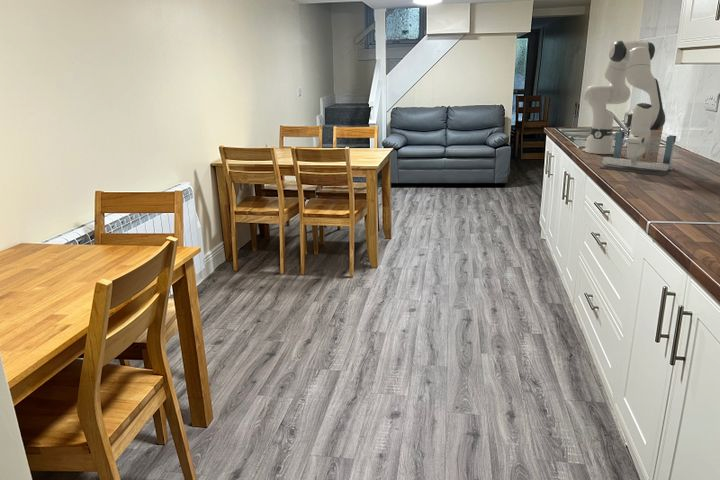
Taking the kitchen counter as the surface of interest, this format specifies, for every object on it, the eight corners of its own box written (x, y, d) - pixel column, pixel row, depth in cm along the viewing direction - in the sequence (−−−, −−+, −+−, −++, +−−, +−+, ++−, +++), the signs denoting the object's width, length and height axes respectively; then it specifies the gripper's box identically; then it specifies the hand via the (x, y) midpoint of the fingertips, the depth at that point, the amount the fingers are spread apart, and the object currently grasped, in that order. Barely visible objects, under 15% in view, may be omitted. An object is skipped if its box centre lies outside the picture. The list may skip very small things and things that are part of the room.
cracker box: (656, 165, 287) (664, 125, 280) (645, 165, 287) (652, 125, 280) (644, 160, 300) (650, 122, 294) (633, 160, 300) (639, 122, 294)
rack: (611, 162, 295) (616, 130, 289) (673, 169, 277) (680, 135, 271) (607, 164, 289) (612, 132, 284) (670, 172, 271) (676, 137, 265)
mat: (605, 165, 287) (605, 164, 287) (668, 173, 269) (669, 171, 269) (599, 168, 280) (599, 167, 279) (664, 176, 261) (664, 175, 261)
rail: (604, 162, 284) (605, 156, 283) (668, 170, 266) (669, 163, 265) (602, 163, 282) (603, 157, 281) (666, 170, 263) (667, 164, 262)
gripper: (637, 134, 278) (633, 161, 283) (626, 139, 264) (621, 167, 268) (651, 135, 275) (646, 163, 279) (640, 140, 260) (635, 169, 264)
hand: (634, 165), depth 273 cm, fingers closed on rail, 3 cm apart
